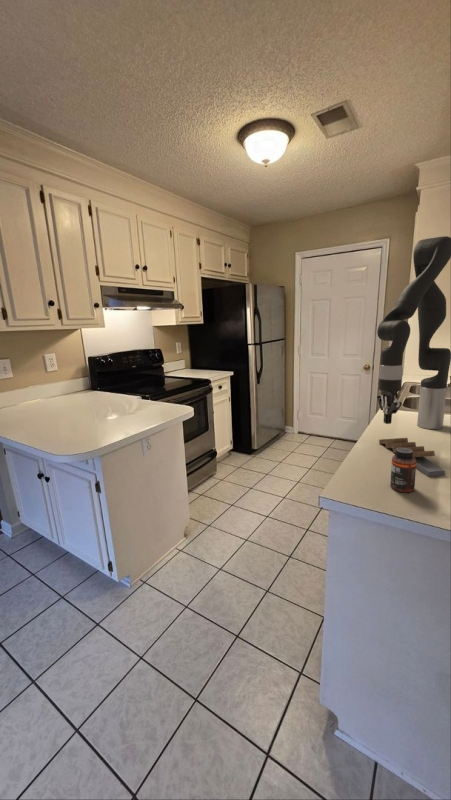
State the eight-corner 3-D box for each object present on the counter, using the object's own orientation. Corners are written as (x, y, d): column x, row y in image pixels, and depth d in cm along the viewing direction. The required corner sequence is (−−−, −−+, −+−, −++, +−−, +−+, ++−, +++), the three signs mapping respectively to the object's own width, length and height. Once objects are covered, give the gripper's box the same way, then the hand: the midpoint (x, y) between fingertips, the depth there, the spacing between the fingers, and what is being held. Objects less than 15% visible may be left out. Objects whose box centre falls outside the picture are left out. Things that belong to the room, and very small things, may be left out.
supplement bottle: (413, 484, 92) (416, 447, 90) (415, 495, 87) (418, 455, 84) (389, 481, 95) (392, 444, 92) (390, 491, 89) (392, 452, 87)
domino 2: (385, 443, 119) (400, 442, 109) (398, 442, 119) (415, 441, 109) (386, 448, 119) (401, 447, 109) (399, 447, 119) (416, 446, 109)
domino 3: (392, 448, 115) (408, 447, 105) (406, 447, 115) (423, 446, 105) (393, 453, 114) (409, 452, 104) (407, 452, 114) (424, 451, 105)
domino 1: (378, 439, 123) (393, 438, 113) (391, 438, 124) (407, 437, 114) (379, 443, 123) (394, 443, 113) (392, 443, 123) (408, 442, 114)
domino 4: (400, 452, 110) (418, 451, 100) (414, 451, 110) (434, 450, 100) (401, 457, 110) (419, 457, 100) (415, 456, 110) (435, 455, 100)
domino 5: (422, 460, 106) (444, 475, 97) (407, 461, 106) (428, 476, 96) (423, 456, 106) (445, 470, 96) (408, 457, 106) (428, 471, 96)
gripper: (411, 379, 111) (407, 428, 115) (390, 374, 124) (387, 417, 128) (390, 380, 111) (387, 429, 115) (371, 375, 124) (368, 418, 128)
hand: (387, 423), depth 121 cm, fingers closed
